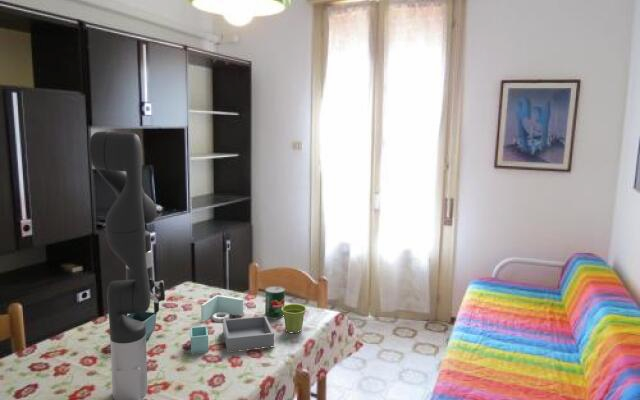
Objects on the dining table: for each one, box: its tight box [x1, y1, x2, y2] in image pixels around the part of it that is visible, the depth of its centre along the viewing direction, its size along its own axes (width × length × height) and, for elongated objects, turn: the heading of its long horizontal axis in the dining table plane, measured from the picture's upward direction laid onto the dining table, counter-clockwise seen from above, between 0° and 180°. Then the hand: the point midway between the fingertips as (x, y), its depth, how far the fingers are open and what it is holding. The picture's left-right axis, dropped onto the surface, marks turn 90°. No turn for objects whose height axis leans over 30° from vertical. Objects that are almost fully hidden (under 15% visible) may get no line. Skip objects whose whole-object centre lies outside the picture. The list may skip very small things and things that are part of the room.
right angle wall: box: [200, 294, 244, 323], centre depth 183 cm, size 12×12×8 cm
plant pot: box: [282, 303, 307, 333], centre depth 174 cm, size 9×9×9 cm
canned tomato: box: [264, 285, 286, 319], centre depth 188 cm, size 8×8×11 cm
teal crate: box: [190, 325, 209, 355], centre depth 159 cm, size 8×6×6 cm
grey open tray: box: [222, 315, 275, 353], centre depth 166 cm, size 16×16×5 cm
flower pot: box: [127, 311, 157, 341], centre depth 163 cm, size 9×9×9 cm
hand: (141, 314), depth 143 cm, fingers open, 8 cm apart
